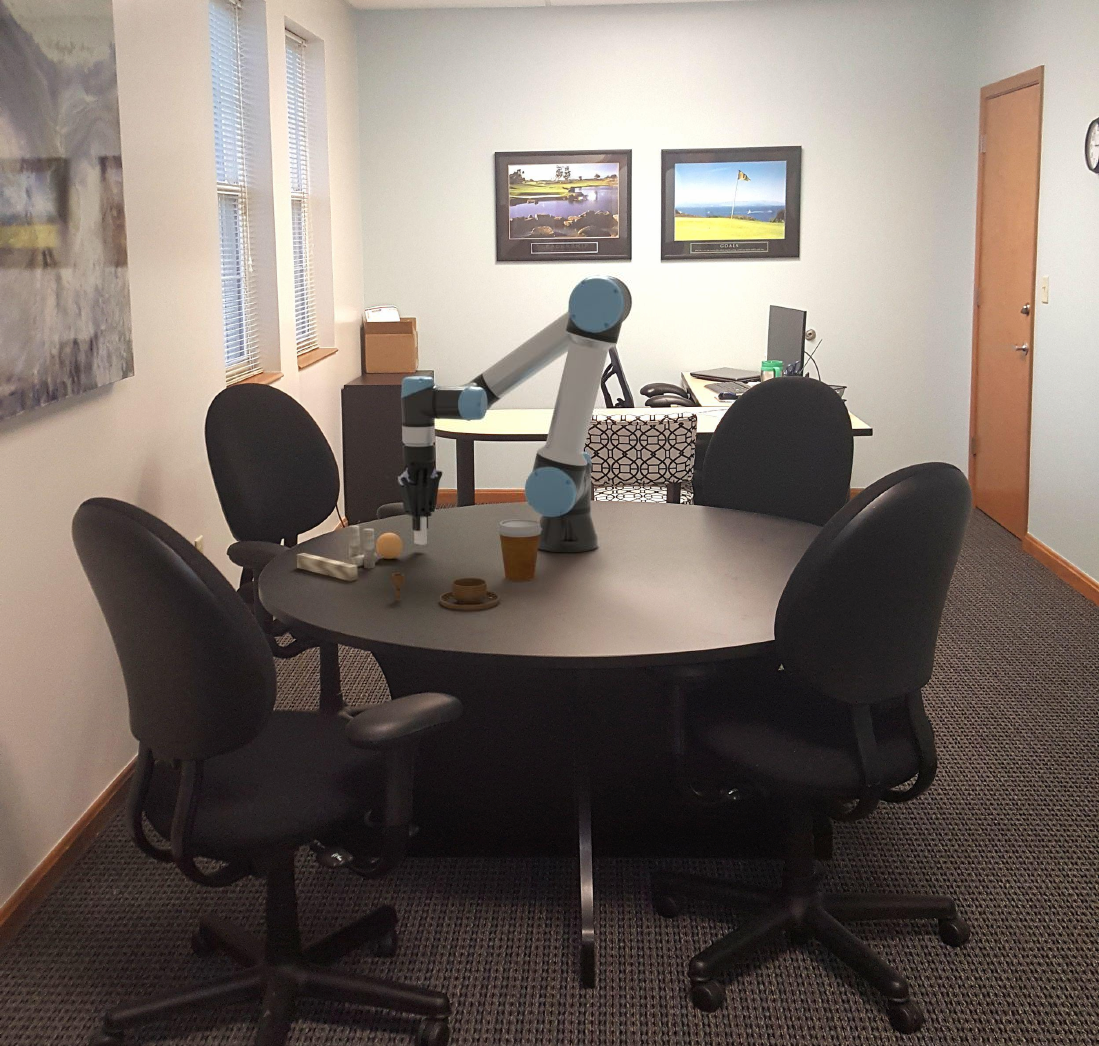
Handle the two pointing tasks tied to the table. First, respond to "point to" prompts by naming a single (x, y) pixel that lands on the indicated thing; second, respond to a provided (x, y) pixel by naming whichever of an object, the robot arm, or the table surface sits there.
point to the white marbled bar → (327, 566)
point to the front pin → (357, 560)
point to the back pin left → (369, 548)
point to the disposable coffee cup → (519, 548)
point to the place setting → (458, 593)
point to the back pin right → (354, 541)
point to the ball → (389, 545)
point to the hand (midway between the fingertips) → (420, 543)
